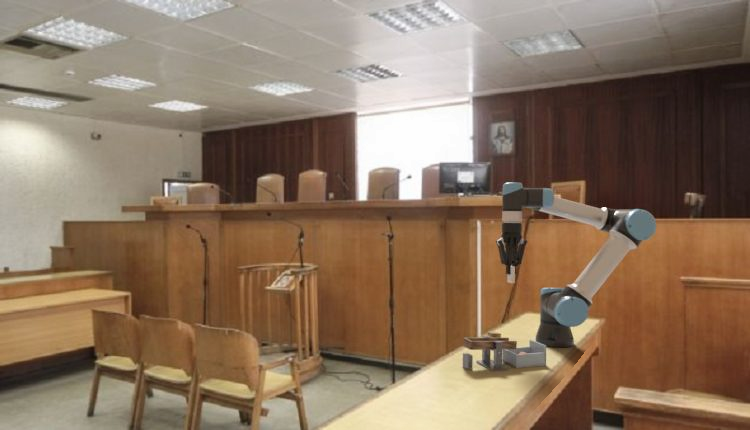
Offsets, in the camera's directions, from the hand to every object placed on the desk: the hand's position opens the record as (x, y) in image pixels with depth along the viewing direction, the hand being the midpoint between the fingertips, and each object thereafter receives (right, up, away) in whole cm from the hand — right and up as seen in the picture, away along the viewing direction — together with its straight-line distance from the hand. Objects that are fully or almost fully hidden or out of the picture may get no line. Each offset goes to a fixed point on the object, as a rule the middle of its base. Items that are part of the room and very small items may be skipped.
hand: (510, 282), depth 209 cm
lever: (-14, -20, -18) cm, 30 cm away
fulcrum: (-16, -26, -23) cm, 38 cm away
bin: (0, -27, -18) cm, 32 cm away
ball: (+1, -26, -17) cm, 31 cm away
